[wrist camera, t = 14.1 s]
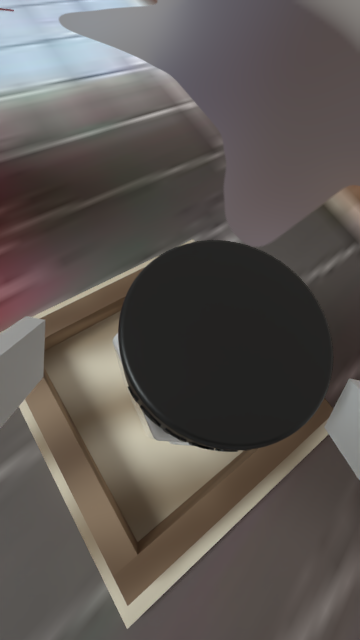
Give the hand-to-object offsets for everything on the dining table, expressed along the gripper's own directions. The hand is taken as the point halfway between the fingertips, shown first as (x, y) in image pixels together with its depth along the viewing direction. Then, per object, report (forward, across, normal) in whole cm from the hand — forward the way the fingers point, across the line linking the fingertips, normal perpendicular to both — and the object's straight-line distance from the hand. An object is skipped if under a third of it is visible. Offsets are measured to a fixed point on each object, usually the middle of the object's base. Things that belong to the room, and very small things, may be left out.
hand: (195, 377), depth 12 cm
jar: (+8, +1, -6) cm, 10 cm away
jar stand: (+8, 0, -6) cm, 10 cm away
